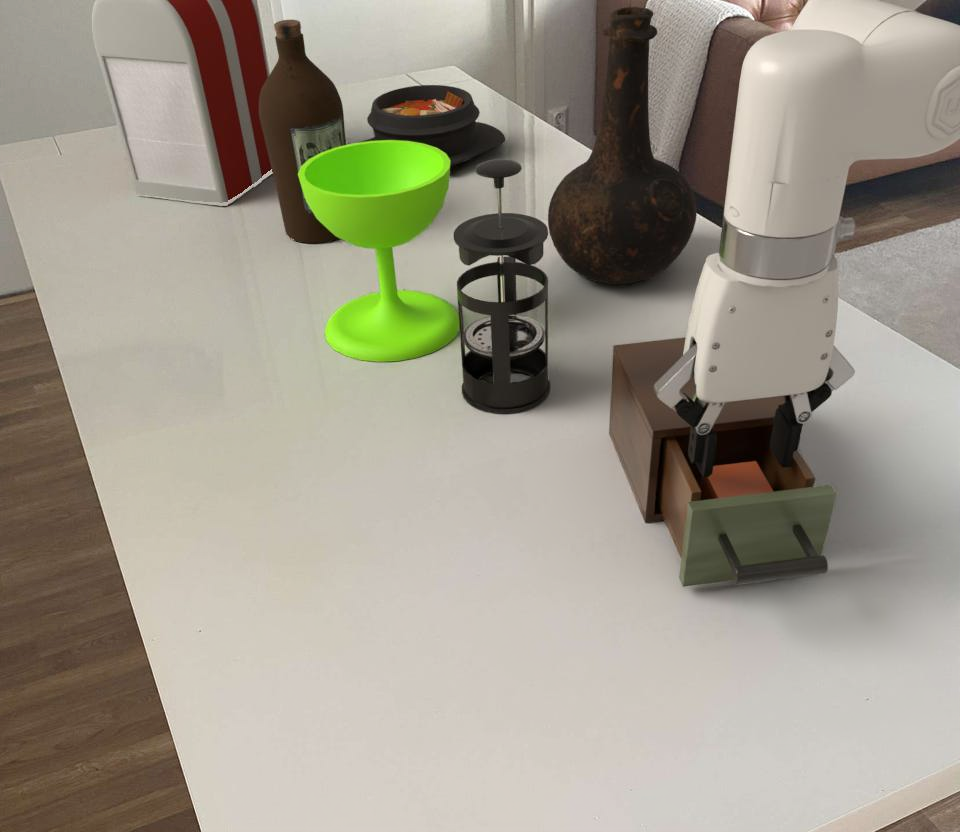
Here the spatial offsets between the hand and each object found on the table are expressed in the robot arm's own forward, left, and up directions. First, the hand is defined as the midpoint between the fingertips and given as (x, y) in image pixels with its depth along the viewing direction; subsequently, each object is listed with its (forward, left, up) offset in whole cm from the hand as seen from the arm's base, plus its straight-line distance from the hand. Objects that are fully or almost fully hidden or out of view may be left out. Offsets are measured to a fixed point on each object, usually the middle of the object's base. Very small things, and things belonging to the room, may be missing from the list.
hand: (741, 460), depth 81 cm
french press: (+15, -29, -9) cm, 34 cm away
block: (0, 0, -7) cm, 7 cm away
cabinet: (0, -11, -9) cm, 14 cm away
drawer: (0, +2, -8) cm, 8 cm away
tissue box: (+50, -98, -9) cm, 111 cm away
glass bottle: (-3, -54, -9) cm, 55 cm away
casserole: (+17, -98, -9) cm, 100 cm away
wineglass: (+26, -45, -9) cm, 53 cm away
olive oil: (+34, -75, -9) cm, 83 cm away
